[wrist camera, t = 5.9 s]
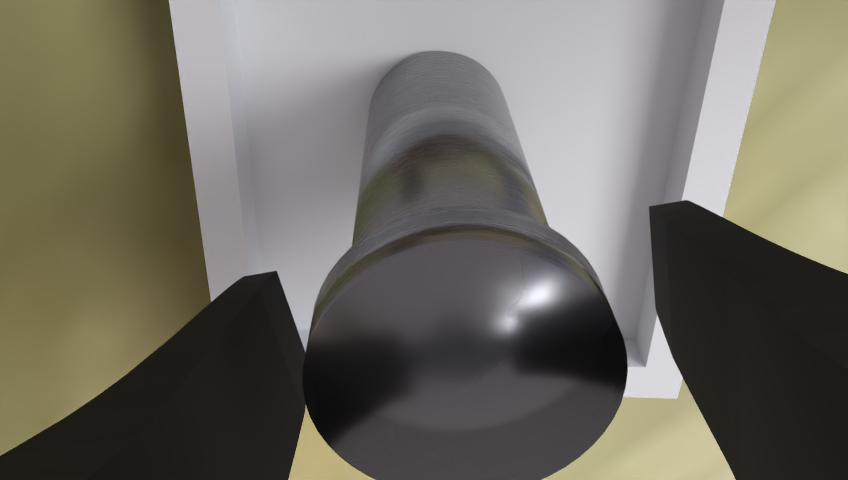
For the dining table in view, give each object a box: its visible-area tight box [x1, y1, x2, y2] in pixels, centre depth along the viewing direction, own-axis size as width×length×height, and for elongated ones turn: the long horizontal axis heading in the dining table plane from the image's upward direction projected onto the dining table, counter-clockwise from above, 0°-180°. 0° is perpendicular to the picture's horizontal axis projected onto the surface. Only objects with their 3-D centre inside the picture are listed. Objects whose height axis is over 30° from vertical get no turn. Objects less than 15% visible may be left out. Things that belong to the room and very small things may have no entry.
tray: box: [169, 0, 776, 399], centre depth 17 cm, size 12×12×2 cm
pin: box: [302, 51, 628, 480], centre depth 13 cm, size 4×4×9 cm
